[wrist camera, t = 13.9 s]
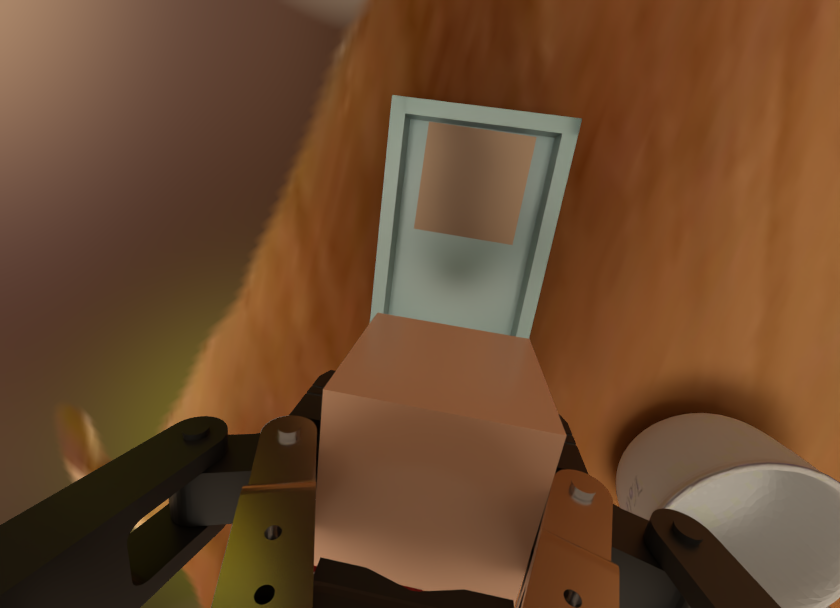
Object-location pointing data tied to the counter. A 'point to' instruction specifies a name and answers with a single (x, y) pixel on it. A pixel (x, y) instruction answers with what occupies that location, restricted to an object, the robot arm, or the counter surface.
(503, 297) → the tray
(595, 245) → the counter surface
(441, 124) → the walnut cube
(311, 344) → the counter surface
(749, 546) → the teacup
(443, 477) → the terracotta cube
